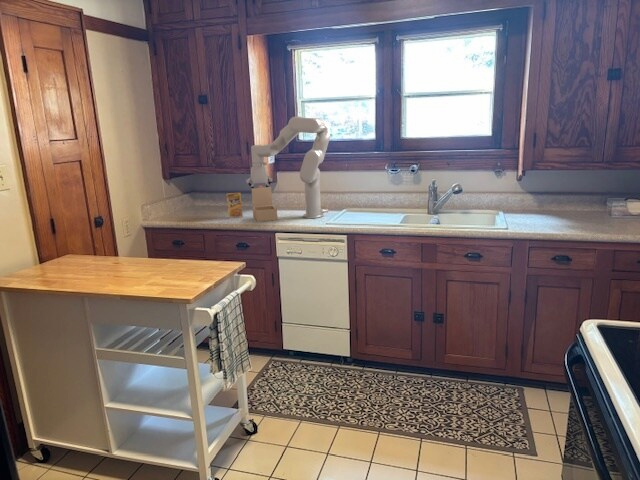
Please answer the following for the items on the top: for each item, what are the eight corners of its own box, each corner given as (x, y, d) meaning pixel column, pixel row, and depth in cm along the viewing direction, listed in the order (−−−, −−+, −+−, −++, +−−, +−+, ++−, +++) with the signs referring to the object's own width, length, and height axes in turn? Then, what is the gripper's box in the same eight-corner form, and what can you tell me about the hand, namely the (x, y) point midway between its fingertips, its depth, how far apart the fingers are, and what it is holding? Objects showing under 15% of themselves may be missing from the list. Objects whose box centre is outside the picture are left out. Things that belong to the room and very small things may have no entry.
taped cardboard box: (272, 204, 308) (270, 203, 314) (271, 185, 305) (269, 184, 311) (252, 206, 304) (251, 205, 311) (251, 187, 301) (249, 186, 308)
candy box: (229, 218, 309) (226, 194, 306) (228, 217, 313) (226, 193, 310) (242, 216, 312) (241, 193, 308) (241, 215, 316) (240, 192, 312)
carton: (273, 216, 309) (273, 205, 308) (277, 220, 298) (276, 208, 296) (253, 218, 306) (252, 207, 304) (256, 222, 294) (255, 210, 292)
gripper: (270, 163, 311) (272, 190, 316) (243, 165, 307) (245, 192, 311) (273, 164, 304) (274, 192, 309) (245, 166, 300) (247, 194, 304)
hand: (260, 192), depth 310 cm, fingers open, 8 cm apart
